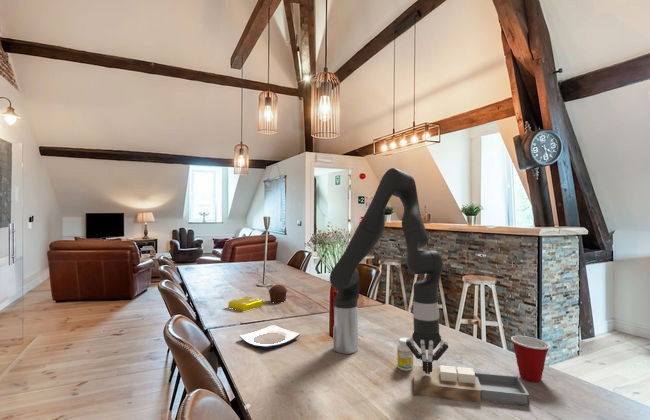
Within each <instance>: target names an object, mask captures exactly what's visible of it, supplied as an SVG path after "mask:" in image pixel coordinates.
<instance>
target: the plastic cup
mask: <svg viewBox="0 0 650 420" xmlns="http://www.w3.org/2000/svg"><path fill="white" fill-rule="evenodd" d="M510 337H511V341H512V345H513V349H514V354H515V360H516V364H517V368H518V373H519V376H520V377H519V378H521V379H522V380H523V381H526V382H530V383H539V382H541V381H542V378H543V372H544V368H545V362H546V359H547V357H546V356H547V354H548V351H549V349H551V345H550V344H549V343H548V342H547V341H544V340H541V339H539V338H536V337H532V336H525V335H514V336H510Z"/></svg>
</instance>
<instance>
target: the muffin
mask: <svg viewBox="0 0 650 420" xmlns="http://www.w3.org/2000/svg"><path fill="white" fill-rule="evenodd" d="M287 293H288V290H287V288H286V287H285V286H284V285H282V284H275V285H272V286H271V287H270V288H269V290H268V294H269V300H270V303H272V302H274V303H273V304H282V303H281V302H283V303H285V302H286V301H287V300H286V299H287ZM284 301H285V302H284Z"/></svg>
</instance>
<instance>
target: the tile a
mask: <svg viewBox="0 0 650 420" xmlns="http://www.w3.org/2000/svg"><path fill="white" fill-rule="evenodd" d="M439 368H440V378H441V380H444V381H454V382H457V372H456V370H457V367H456V366H453V365H442V364H441V365H439Z"/></svg>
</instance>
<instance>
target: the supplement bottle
mask: <svg viewBox="0 0 650 420" xmlns="http://www.w3.org/2000/svg"><path fill="white" fill-rule="evenodd" d="M407 339H410V338H408V337H400V338H399V339H398V344H397V347H396V351H397V352H396V353H397V354H396V356H397V357H396V359H397V361H396V362H397V367H398V369H399V370H402V371H406V372H407V371H408V372H409V371H412V370H414V354H413V353H412V352H411V350H410V349H409V348H408V346H407V345H406V340H407Z"/></svg>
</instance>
